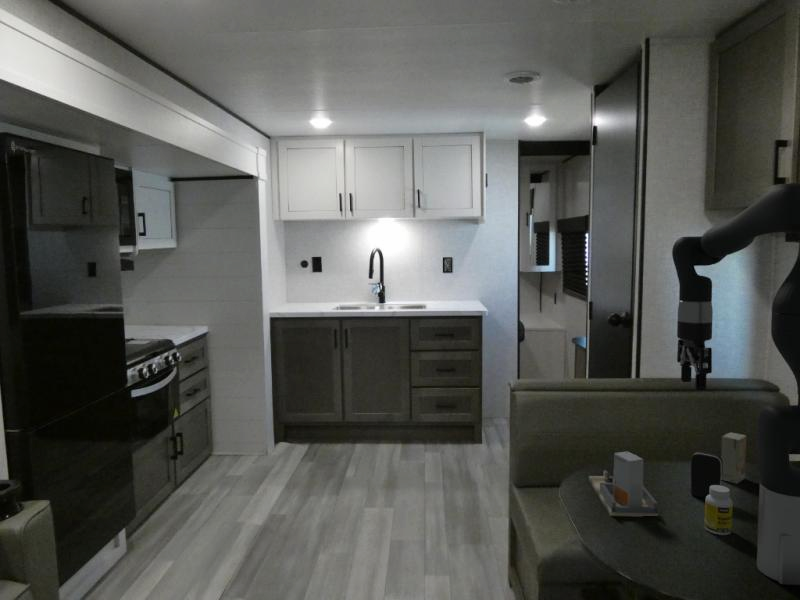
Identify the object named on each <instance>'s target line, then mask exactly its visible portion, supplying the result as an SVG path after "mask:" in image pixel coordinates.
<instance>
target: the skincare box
mask: <svg viewBox="0 0 800 600" xmlns="http://www.w3.org/2000/svg"><path fill="white" fill-rule="evenodd" d="M613 454H614V456H613V458H614V459H613V471H614V496H613V498H614V499H615V500H617V501H618V502H620V503H621V504H623V505H624V506H634V507H641V506H643V486H644V459H643V458H641V457H639V456H638V455H636V454H635V453H634V454H633V453H631V452H629V451H628V450H626V451H620V452H614V453H613Z"/></svg>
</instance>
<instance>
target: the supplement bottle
mask: <svg viewBox="0 0 800 600" xmlns="http://www.w3.org/2000/svg"><path fill="white" fill-rule="evenodd" d="M730 492H731V489H729V488H728V487H726V486H724V485H721V486H720V485H711V486H710V489H709V493H710V494H709V495H707V496H706V499H705V501H704V502H705V503H704V505H705V506H704V526H703V527H704V528H705V530H706V531H708V532H709V533H712V534H715V535H717V534H718V536H728V535H730V534H731V533H732V531H733V530H732V527H733V526H732V525H733V509H734V508H733V506H734V505H733V500H732V499H731V498H730V495H731V494H730Z"/></svg>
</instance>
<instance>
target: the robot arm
mask: <svg viewBox="0 0 800 600" xmlns="http://www.w3.org/2000/svg"><path fill="white" fill-rule="evenodd" d="M773 233H774V234H775V233H785V234H800V182H791V183H784V184H779V185H777V186H776V187H774V188H773V189H771V190H770V191H768V192H766V193H765V194H764V195H763V196H761V197H760V198H758V199H757V200H756V201H755V202H754V203H752V204H751V205H750V206H748V207H747V208H746V209H744V210H743V211H741V212H740V213H739V214H737V215H736V216H734V217H731V218H730V219H728V220H726V221H723V222H721V223H719V224H717V225H714V226H712V227H711V228H709V229H707V230H706V231H705V232H704V233H703V235H702V236H701V235H700V236H681V237H679V238H677V239H676V241H675V242H674V243H673V246H672V248H671V249H672V251H671V255H672V259H673V263H674V264H673V265H674V267H675V272H676V275H677V280H678V283H679V288H678V289H679V293H678V295H679V298H678V299H679V300H678V308H677V322H676V325H677V327H676V328H677V329H676V330H677V331H676V335H677V336H676V337H677V338H678V340H677V351H676V352H677V353H676V355H677V357H676V358H677V359H676V362H677V363H679V365H680V380H681V382H683V383H690V382H691V381H692V370H693V369H692V367H694V372H695V376H694V377H695V380H694V383H695V385H694V388H695V390H697V391H705V390H706V389H707V375H708V374H712V372H713V370H712V369H713V366H712V365H713V363H712V362H713V361H712V360H713V357H712V356H713V351H712V347H706V343H705V342H706V341H711V340H712V337H713V316H714V315H713V313H714V312H713V304H712V303H713V302H712V301H713V281H712V278H710V277H708V276H705V275H699V274H698V273H697V271H696V267H704V266H705V267H706V266H712V265H716V264H719V263H720V262H721V261H722V260H723V259H725V258H726V257H727V256H730V255H732V254H735V253H737V252H740V251H742V250H744V249H746V248H747V247H749V246H750V245H751V244H752V243H753V242H754V240H755V238H756V237H759V236H762V235H768V234H773ZM695 266H696V267H695ZM771 305H772V306H771V322H770V323H771V326H770V327H771V329H770V330H771V331H770V333H771V338H772V341H773V344H774V346H775V347H776V349H777V351H778V352H779V354H780V356H781V357H782V359H784V361H785V363H786V364H787V365H788V367H789V369H790V370H791V372H792V374H793V376H794V379H795V381H796V387H797V397H798V398H797V404H796V405H795V404H790V405H789V404H783V405H782V404H777V405H775V404H774V405H773V404H771V405H766V406H764V407H763V408H762V409H760V411H759V414H758V416H757V421H756V434H757V435H756V438H757V440H756V441H757V442H756V443H757V467H758V472H759V490H758V491H759V492H758V493H759V495H758V512H757V513H758V515H757V542H756V543H757V544H756V545H757V546H756V550H757V551H756V568H757V570H758V571H759V572H760V573H762V574H763V575H764V576H767V578H770V579H772V580H774V581H776V582H778V583H779V584H780V585H789V586H790V585H792V586H795V585H796V586H800V467H798V466H797V467H796V466H794V465H791V463H790V455H800V241H798V252H797V257H796V260H795V262H794V264H793V267H792V269H791V270H790V271H789V273H788V275H787V276H786V278H785V280H784V281H783V282H782V284H781V285H780V286H779V289H778V290H777V292H776V294H775V296H774V298H773V300H772V304H771Z"/></svg>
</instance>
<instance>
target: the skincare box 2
mask: <svg viewBox="0 0 800 600" xmlns="http://www.w3.org/2000/svg"><path fill="white" fill-rule="evenodd" d="M746 453H747V435H746V434H740V433H735V432H727V433H726V434H724V435H723V436H721V455H720V457H721V458H722V461H723V475H722V478H721V481H726V482H729V483H733V484H737V485H738V484H739V483H740V482H742V481H743V480H744V479H745V478H746Z"/></svg>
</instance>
